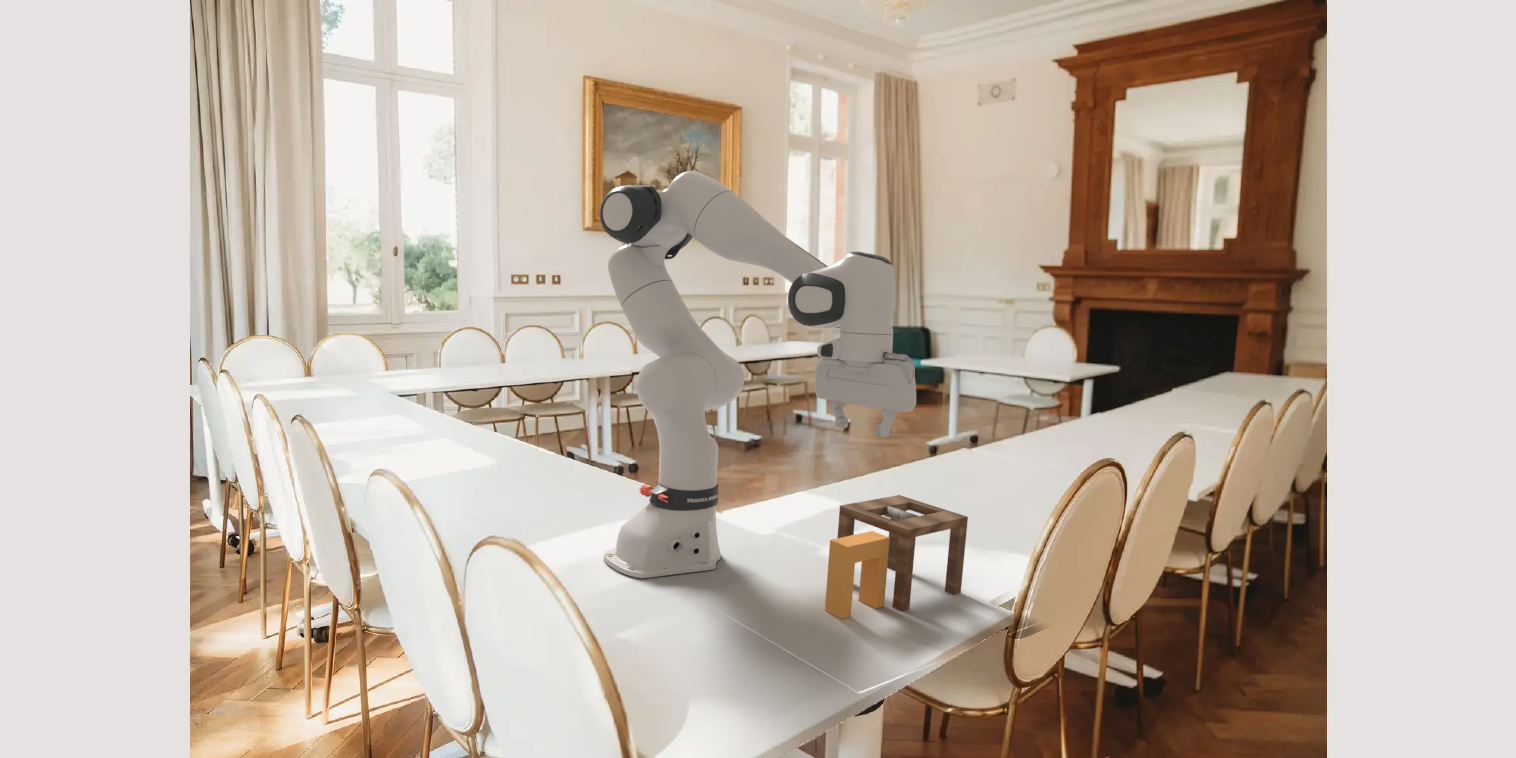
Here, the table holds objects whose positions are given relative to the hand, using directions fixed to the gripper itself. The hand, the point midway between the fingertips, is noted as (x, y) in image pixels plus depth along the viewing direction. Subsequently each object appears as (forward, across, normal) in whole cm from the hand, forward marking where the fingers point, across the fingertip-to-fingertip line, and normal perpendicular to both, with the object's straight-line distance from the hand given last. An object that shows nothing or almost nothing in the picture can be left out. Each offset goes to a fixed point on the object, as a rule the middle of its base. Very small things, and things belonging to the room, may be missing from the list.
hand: (861, 431), depth 139 cm
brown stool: (+29, -1, -11) cm, 31 cm away
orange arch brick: (+29, -4, +3) cm, 29 cm away
